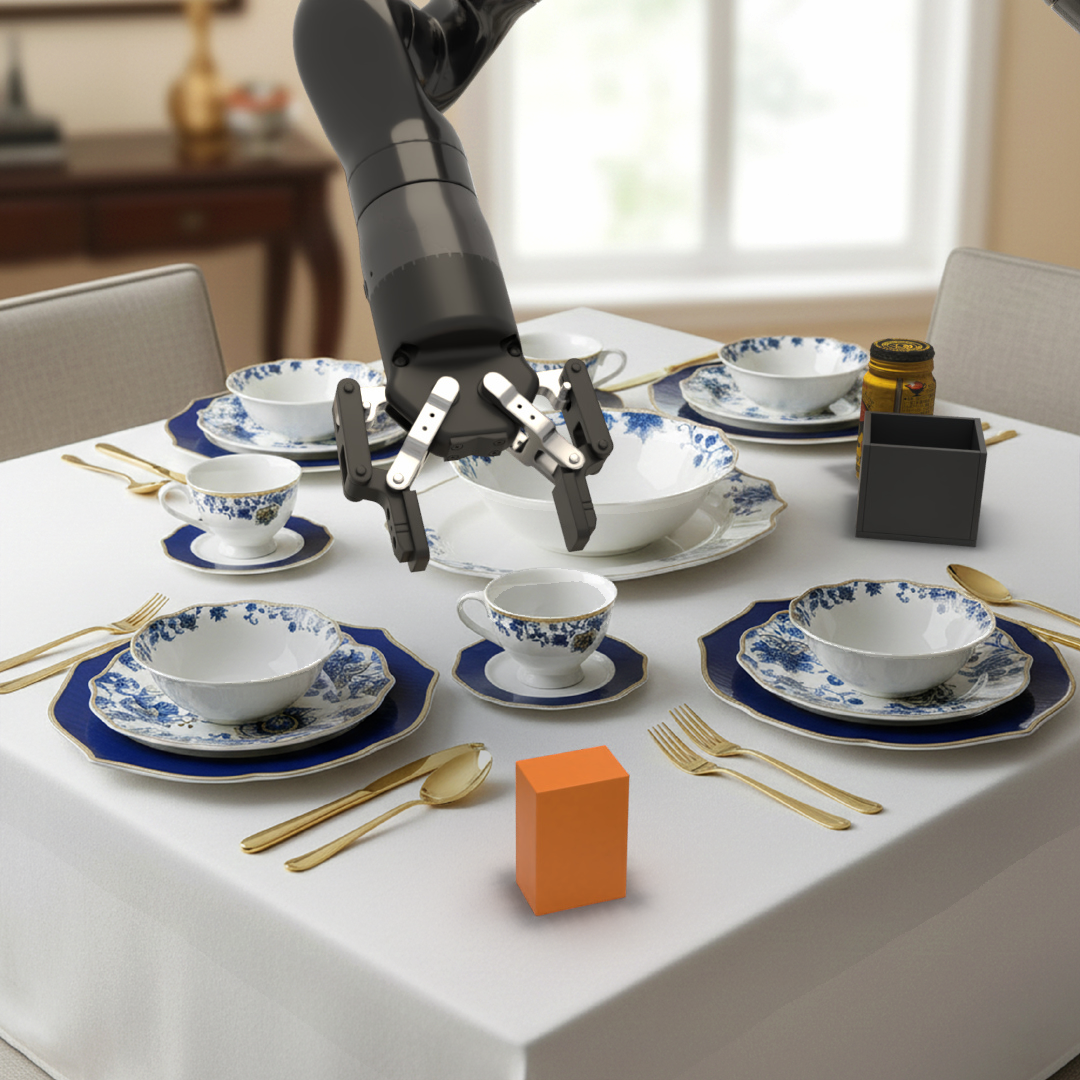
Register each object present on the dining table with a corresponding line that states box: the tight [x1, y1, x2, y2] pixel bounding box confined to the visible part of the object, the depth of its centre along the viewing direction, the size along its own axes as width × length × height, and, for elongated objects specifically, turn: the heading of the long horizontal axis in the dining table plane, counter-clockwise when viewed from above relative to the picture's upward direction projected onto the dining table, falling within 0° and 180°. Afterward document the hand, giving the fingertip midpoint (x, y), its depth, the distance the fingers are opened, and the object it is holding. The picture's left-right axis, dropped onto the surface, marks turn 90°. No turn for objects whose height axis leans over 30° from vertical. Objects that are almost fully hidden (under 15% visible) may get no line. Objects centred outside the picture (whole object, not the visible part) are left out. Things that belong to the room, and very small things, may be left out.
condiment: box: [855, 337, 937, 481], centre depth 124 cm, size 7×8×12 cm
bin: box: [854, 411, 988, 548], centre depth 115 cm, size 9×9×8 cm
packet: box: [515, 744, 630, 917], centre depth 69 cm, size 3×5×7 cm, turn 110°
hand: (502, 555), depth 75 cm, fingers open, 8 cm apart
